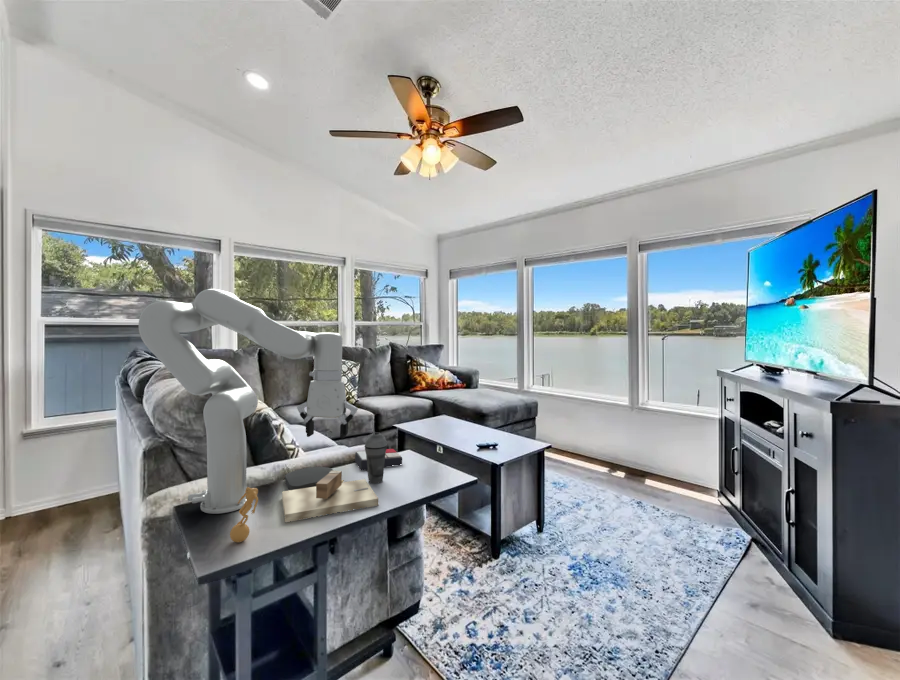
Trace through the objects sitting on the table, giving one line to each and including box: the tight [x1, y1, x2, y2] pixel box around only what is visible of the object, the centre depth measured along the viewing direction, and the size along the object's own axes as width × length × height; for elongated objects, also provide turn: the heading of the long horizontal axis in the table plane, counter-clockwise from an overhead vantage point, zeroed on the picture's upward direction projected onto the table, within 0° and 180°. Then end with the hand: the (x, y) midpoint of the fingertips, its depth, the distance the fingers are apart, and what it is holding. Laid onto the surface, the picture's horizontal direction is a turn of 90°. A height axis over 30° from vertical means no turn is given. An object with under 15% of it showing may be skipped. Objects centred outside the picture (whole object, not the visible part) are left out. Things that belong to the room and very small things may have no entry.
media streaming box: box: [284, 466, 334, 491], centre depth 128 cm, size 15×15×3 cm
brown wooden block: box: [316, 469, 343, 499], centre depth 113 cm, size 10×3×5 cm, turn 172°
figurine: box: [229, 486, 259, 543], centre depth 92 cm, size 8×6×12 cm
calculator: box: [354, 448, 403, 471], centre depth 147 cm, size 11×4×15 cm
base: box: [281, 478, 379, 523], centre depth 114 cm, size 24×18×2 cm
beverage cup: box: [363, 419, 388, 485], centre depth 129 cm, size 7×7×20 cm
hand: (326, 436), depth 113 cm, fingers open, 9 cm apart
